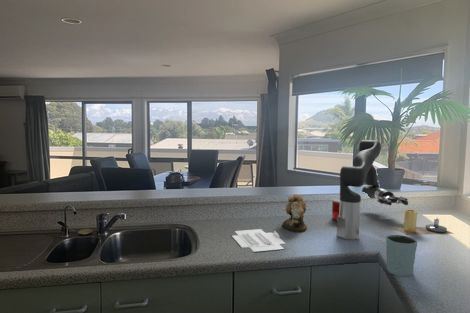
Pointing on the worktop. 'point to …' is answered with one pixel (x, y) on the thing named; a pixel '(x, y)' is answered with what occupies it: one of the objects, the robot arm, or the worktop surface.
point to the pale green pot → (400, 254)
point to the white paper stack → (258, 240)
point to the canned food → (335, 209)
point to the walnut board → (420, 231)
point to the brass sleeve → (410, 220)
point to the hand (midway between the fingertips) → (399, 203)
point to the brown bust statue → (295, 214)
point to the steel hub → (436, 227)
